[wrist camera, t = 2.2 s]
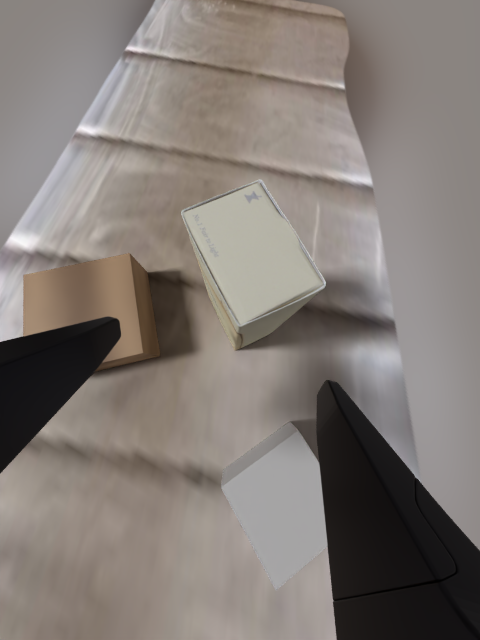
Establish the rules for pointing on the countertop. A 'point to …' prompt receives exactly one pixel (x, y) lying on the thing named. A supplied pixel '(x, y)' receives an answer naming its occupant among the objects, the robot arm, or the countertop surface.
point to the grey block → (279, 502)
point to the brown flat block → (95, 304)
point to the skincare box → (250, 261)
